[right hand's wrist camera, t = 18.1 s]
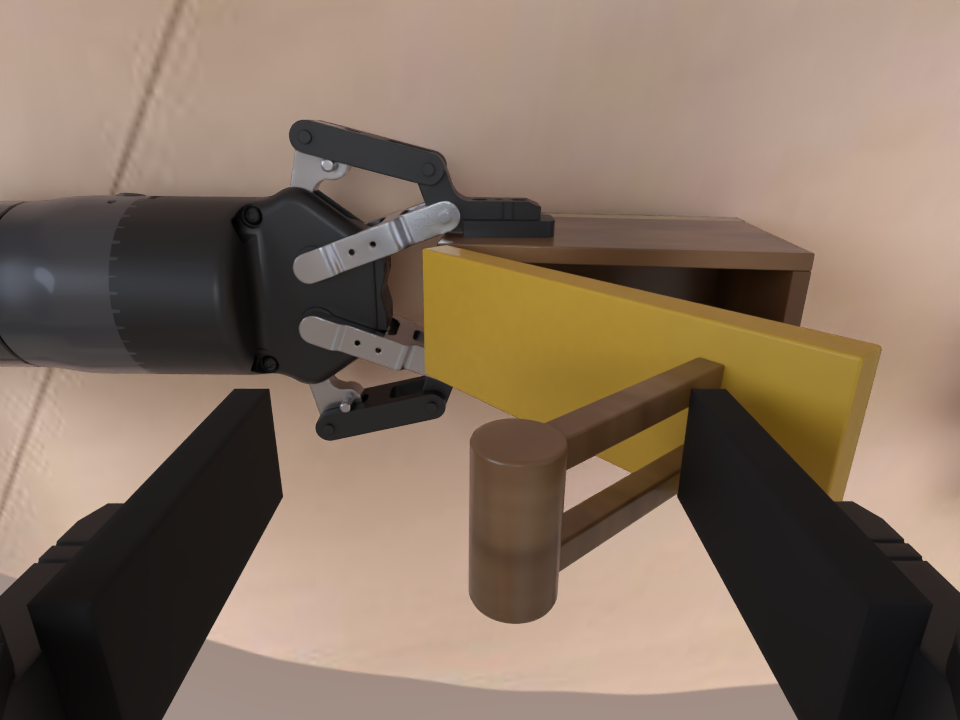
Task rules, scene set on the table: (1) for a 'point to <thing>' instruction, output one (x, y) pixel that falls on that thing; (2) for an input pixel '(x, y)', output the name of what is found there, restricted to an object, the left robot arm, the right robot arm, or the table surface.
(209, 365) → the left robot arm
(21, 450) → the table surface
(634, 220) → the chest
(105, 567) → the right robot arm
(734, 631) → the table surface
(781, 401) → the lid
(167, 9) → the table surface
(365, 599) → the table surface
